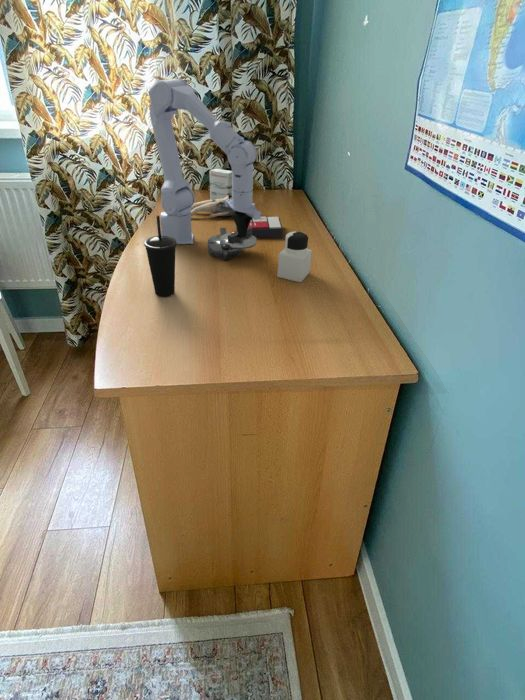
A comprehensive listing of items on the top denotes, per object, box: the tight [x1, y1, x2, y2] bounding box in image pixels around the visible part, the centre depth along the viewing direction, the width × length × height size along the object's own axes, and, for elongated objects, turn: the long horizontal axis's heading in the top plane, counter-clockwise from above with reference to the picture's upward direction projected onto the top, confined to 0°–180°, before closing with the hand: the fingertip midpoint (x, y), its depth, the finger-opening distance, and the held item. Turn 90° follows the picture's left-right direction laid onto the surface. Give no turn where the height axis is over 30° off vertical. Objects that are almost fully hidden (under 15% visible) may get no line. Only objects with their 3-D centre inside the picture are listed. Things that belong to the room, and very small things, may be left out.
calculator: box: [235, 216, 284, 239], centre depth 153 cm, size 11×4×15 cm
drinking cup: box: [143, 214, 178, 298], centre depth 110 cm, size 8×8×20 cm
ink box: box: [208, 168, 232, 200], centre depth 174 cm, size 9×5×12 cm, turn 66°
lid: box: [220, 227, 258, 250], centre depth 135 cm, size 13×11×3 cm
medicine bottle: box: [277, 231, 313, 283], centre depth 124 cm, size 7×7×12 cm
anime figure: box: [191, 193, 235, 218], centre depth 163 cm, size 10×7×30 cm
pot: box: [207, 227, 242, 262], centre depth 140 cm, size 10×18×4 cm, turn 7°
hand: (242, 236), depth 134 cm, fingers closed, pressing on lid
